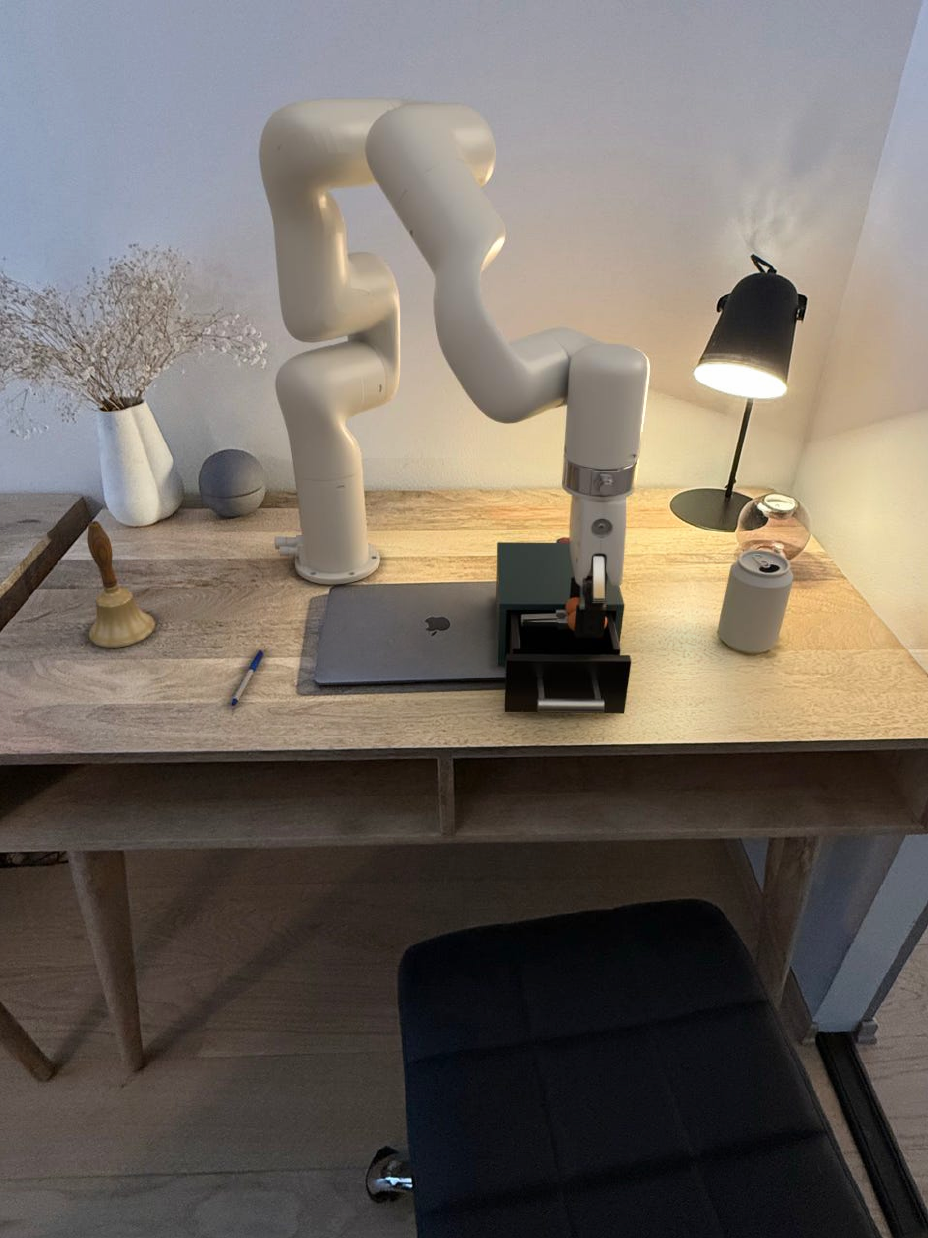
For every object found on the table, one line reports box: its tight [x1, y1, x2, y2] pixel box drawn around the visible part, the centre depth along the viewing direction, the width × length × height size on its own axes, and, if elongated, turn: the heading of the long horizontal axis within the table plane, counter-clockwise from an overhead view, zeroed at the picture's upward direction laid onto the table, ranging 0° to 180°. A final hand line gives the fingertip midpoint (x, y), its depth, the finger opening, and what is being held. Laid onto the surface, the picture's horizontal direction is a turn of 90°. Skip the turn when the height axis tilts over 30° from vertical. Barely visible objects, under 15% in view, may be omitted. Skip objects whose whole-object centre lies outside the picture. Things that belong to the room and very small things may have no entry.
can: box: [717, 549, 794, 655], centre depth 104 cm, size 8×8×12 cm
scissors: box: [521, 597, 607, 631], centre depth 93 cm, size 10×5×2 cm, turn 89°
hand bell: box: [86, 520, 156, 649], centre depth 105 cm, size 8×8×16 cm
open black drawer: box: [503, 610, 632, 715], centre depth 95 cm, size 19×14×7 cm
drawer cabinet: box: [495, 541, 625, 667], centre depth 106 cm, size 15×15×9 cm
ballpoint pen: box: [231, 649, 264, 707], centre depth 100 cm, size 10×1×1 cm, turn 175°
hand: (585, 620), depth 94 cm, fingers closed on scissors, 5 cm apart
